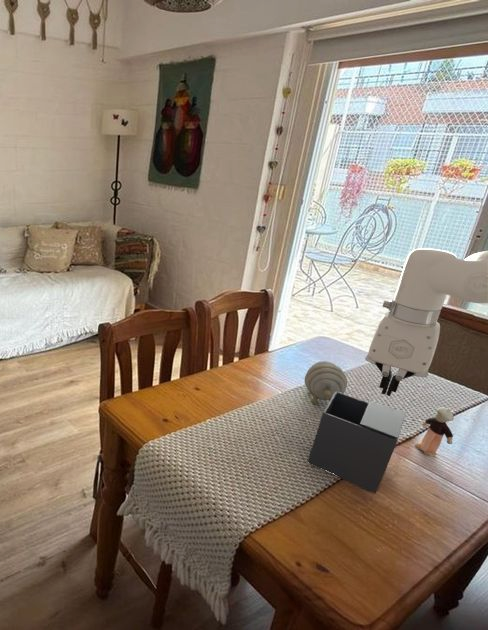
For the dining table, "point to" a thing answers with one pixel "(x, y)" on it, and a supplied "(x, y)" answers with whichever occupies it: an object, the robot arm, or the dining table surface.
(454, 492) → the dining table surface
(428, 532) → the dining table surface
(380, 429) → the flap
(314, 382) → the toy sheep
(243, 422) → the dining table surface
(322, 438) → the carton
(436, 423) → the grandmother figurine
